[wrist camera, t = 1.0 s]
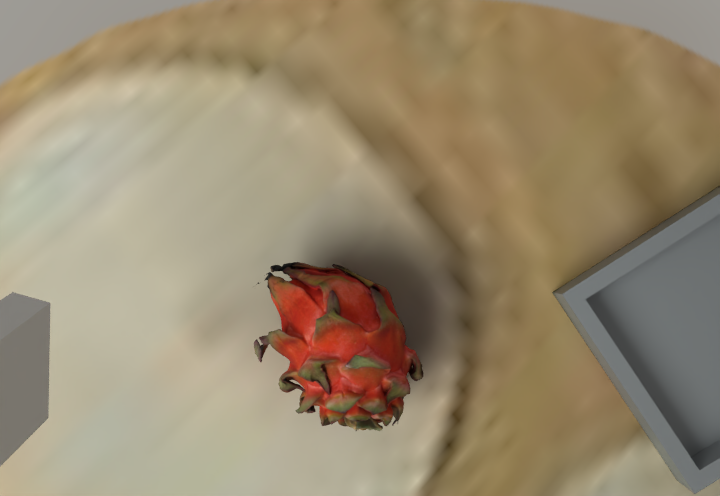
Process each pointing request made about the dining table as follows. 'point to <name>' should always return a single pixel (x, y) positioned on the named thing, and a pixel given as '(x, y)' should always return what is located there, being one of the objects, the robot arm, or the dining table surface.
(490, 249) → the dining table surface
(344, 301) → the dragon fruit
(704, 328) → the tray
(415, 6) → the dining table surface
